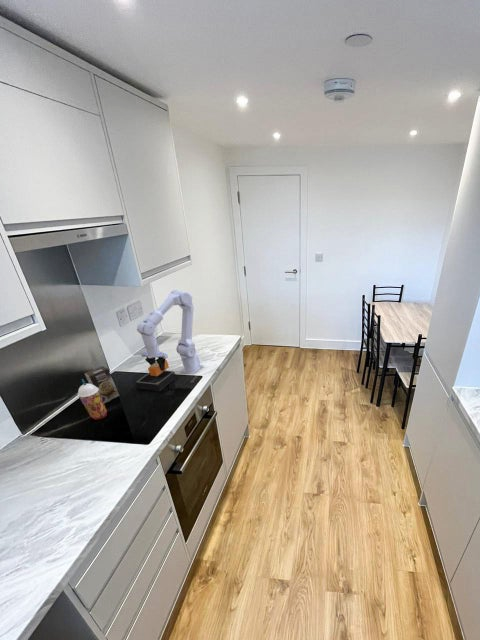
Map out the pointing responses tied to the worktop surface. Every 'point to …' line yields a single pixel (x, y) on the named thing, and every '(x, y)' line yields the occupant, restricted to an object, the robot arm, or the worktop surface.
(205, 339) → the worktop surface
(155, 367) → the snack box
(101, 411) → the smoothie
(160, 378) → the dark grey tray
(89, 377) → the coffee box
